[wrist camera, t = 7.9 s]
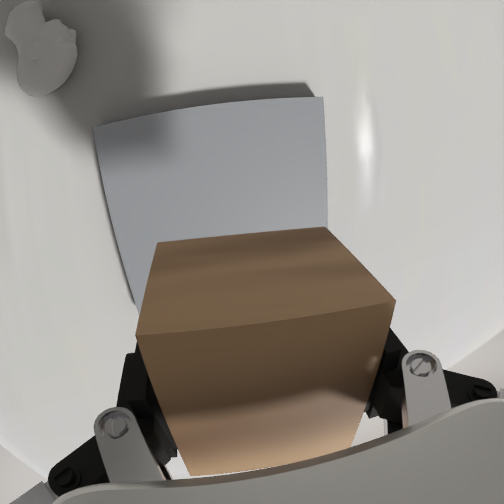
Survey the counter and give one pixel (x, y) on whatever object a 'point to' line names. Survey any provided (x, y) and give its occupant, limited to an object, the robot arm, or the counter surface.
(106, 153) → the base board
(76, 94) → the counter surface
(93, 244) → the counter surface
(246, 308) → the walnut brick
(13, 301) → the counter surface
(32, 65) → the smooth white sculpture
